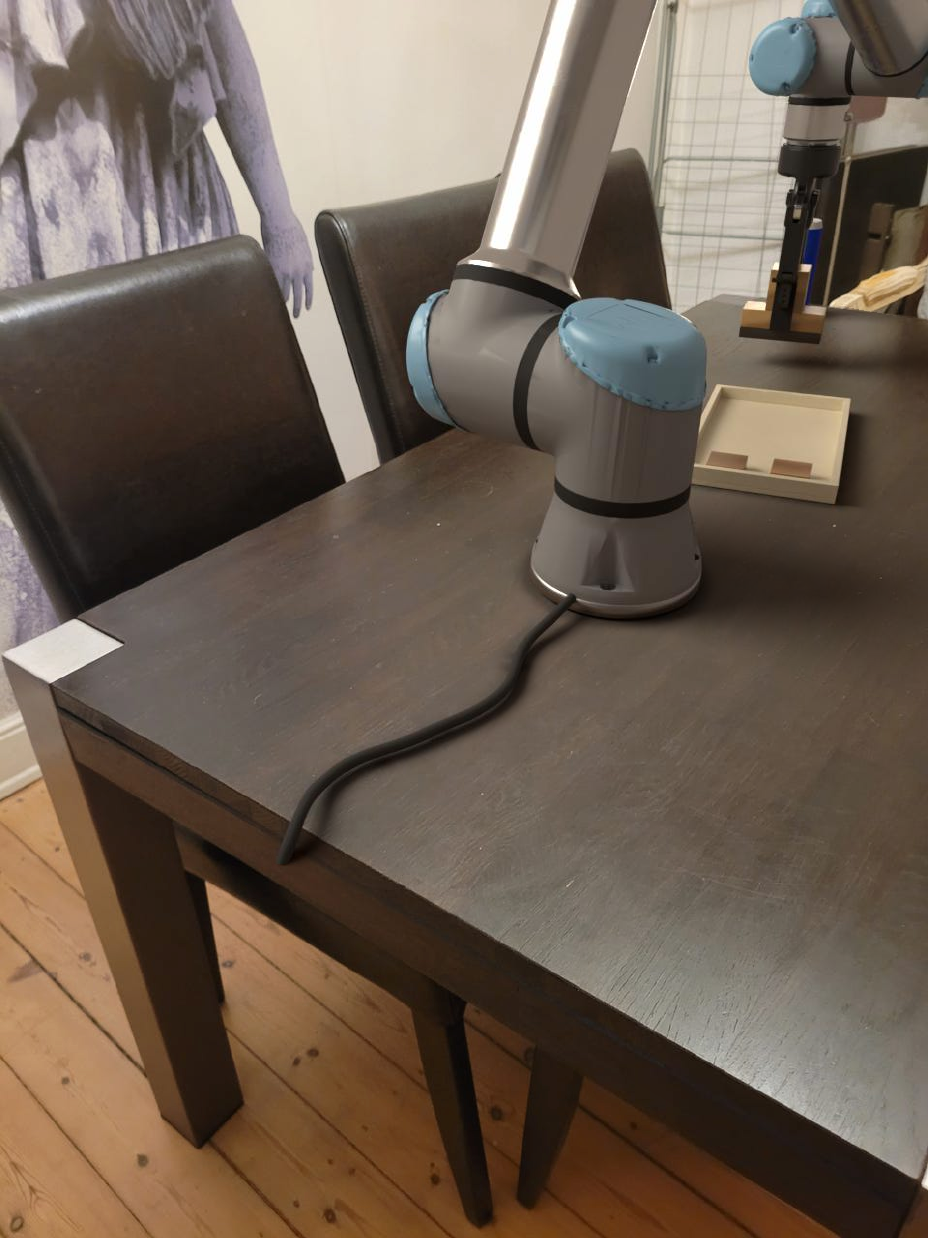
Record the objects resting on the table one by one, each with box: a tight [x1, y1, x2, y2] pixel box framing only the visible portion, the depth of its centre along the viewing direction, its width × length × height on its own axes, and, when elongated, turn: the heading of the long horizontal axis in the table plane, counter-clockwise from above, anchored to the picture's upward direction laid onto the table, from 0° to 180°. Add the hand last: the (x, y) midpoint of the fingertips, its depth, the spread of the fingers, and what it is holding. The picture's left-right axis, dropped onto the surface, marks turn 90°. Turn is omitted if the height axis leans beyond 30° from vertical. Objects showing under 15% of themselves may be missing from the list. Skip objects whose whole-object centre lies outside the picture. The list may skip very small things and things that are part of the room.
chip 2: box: [770, 459, 813, 479], centre depth 99 cm, size 4×4×2 cm
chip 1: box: [706, 451, 748, 470], centre depth 101 cm, size 4×4×2 cm
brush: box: [738, 262, 828, 345], centre depth 130 cm, size 4×11×10 cm, turn 68°
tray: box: [691, 383, 852, 505], centre depth 109 cm, size 28×17×2 cm, turn 158°
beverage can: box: [803, 217, 824, 306], centre depth 152 cm, size 5×5×15 cm
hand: (781, 324), depth 131 cm, fingers closed on brush, 4 cm apart
